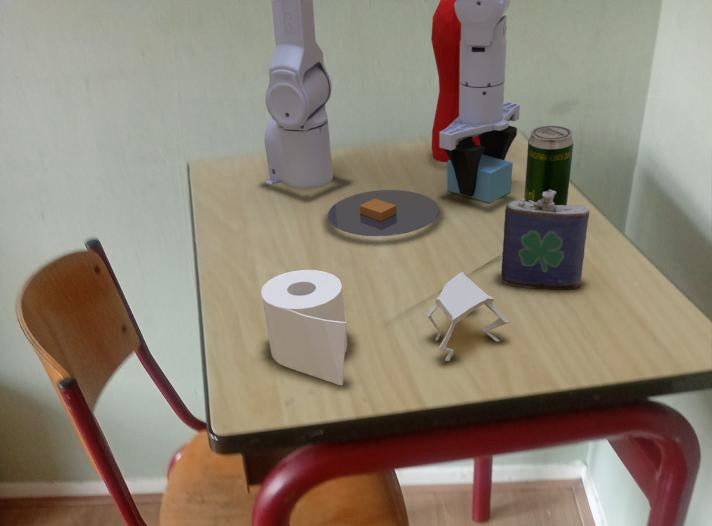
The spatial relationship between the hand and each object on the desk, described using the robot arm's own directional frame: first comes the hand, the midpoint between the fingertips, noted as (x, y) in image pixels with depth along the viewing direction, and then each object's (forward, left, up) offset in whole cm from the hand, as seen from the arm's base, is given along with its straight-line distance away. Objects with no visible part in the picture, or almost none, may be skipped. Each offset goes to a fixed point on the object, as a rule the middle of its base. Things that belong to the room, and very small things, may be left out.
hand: (478, 188), depth 111 cm
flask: (+21, -15, -2) cm, 26 cm away
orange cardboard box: (-6, -14, 0) cm, 15 cm away
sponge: (0, 0, -1) cm, 1 cm away
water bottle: (-11, +10, -2) cm, 15 cm away
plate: (-6, -13, -1) cm, 14 cm away
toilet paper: (+12, -43, -2) cm, 45 cm away
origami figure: (+21, -29, -2) cm, 36 cm away
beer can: (+13, -3, -2) cm, 13 cm away
